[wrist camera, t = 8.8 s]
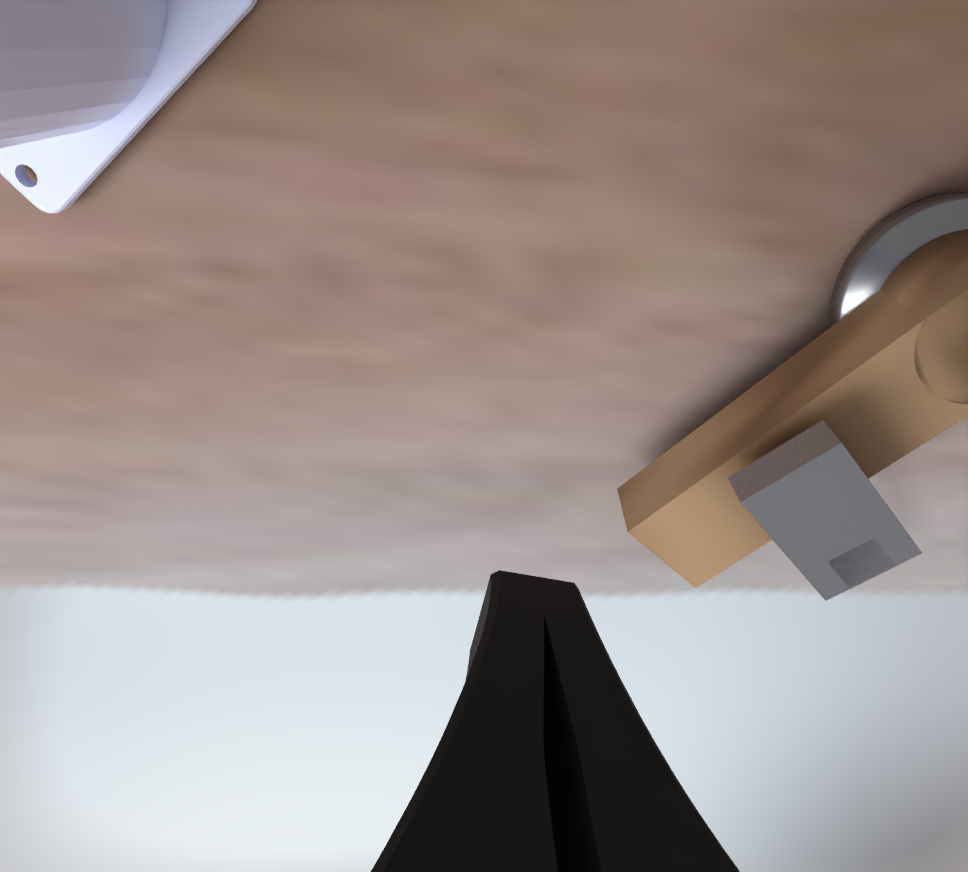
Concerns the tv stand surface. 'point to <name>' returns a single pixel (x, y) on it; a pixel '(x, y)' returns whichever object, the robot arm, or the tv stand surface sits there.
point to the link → (817, 411)
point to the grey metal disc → (894, 248)
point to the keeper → (823, 512)
